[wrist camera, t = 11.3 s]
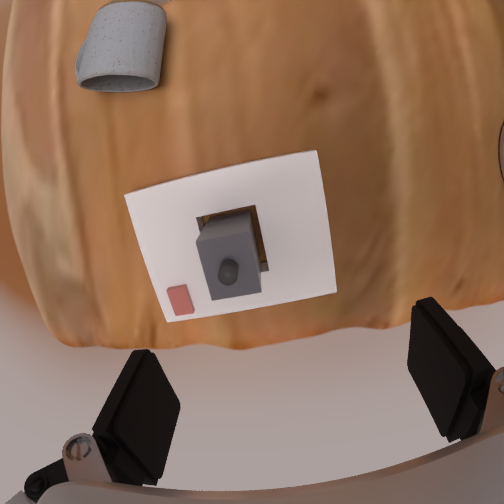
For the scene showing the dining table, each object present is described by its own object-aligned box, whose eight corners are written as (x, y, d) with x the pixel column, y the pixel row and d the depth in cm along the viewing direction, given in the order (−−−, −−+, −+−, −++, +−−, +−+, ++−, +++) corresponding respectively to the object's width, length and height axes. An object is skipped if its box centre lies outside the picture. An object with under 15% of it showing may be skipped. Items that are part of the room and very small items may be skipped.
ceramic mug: (177, 17, 23) (154, -15, 15) (169, 89, 25) (140, 73, 18) (87, 32, 23) (49, 13, 15) (78, 99, 25) (35, 93, 18)
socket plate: (311, 149, 27) (318, 150, 24) (331, 281, 32) (338, 295, 29) (133, 190, 29) (121, 196, 26) (172, 311, 33) (165, 325, 31)
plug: (250, 208, 29) (248, 238, 20) (259, 255, 31) (262, 302, 22) (210, 216, 30) (191, 249, 21) (221, 262, 31) (209, 311, 22)
